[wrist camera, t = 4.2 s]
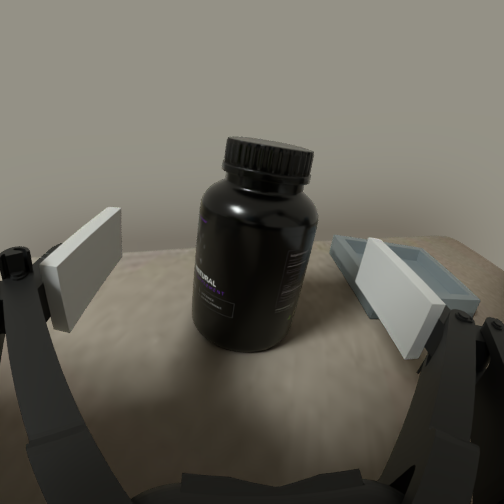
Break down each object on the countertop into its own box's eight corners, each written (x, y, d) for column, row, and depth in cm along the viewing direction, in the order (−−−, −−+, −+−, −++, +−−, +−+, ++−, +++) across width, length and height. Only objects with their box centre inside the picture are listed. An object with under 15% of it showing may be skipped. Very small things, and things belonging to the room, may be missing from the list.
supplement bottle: (170, 328, 19) (181, 133, 14) (221, 286, 25) (241, 134, 20) (268, 372, 17) (317, 155, 12) (301, 315, 22) (339, 153, 18)
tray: (416, 263, 36) (421, 248, 35) (471, 319, 24) (480, 300, 23) (329, 252, 35) (333, 234, 34) (369, 318, 23) (379, 294, 22)
